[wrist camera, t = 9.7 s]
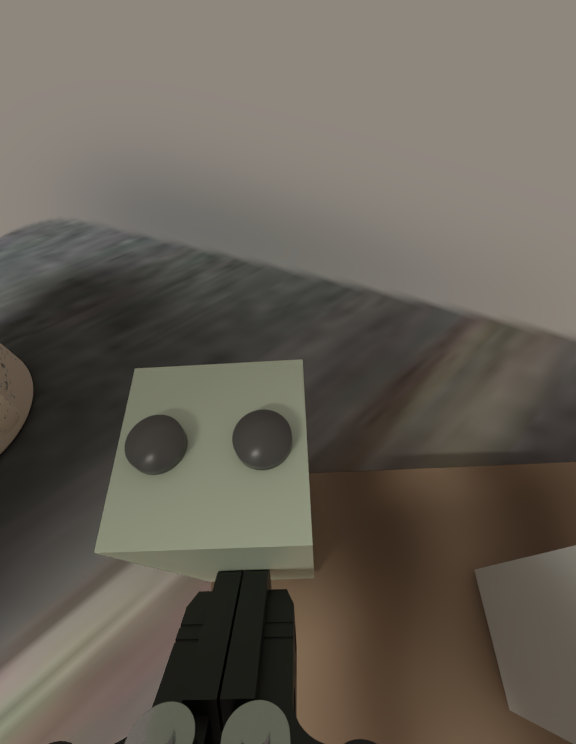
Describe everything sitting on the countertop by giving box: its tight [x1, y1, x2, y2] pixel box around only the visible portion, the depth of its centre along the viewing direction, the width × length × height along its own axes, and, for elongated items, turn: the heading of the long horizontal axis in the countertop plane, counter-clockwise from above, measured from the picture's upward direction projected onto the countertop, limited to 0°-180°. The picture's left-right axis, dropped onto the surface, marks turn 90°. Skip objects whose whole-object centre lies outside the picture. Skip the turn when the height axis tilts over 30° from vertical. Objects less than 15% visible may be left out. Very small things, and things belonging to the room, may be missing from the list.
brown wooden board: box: [211, 462, 576, 744], centre depth 14 cm, size 24×12×2 cm, turn 91°
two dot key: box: [94, 359, 314, 582], centre depth 12 cm, size 4×4×9 cm
